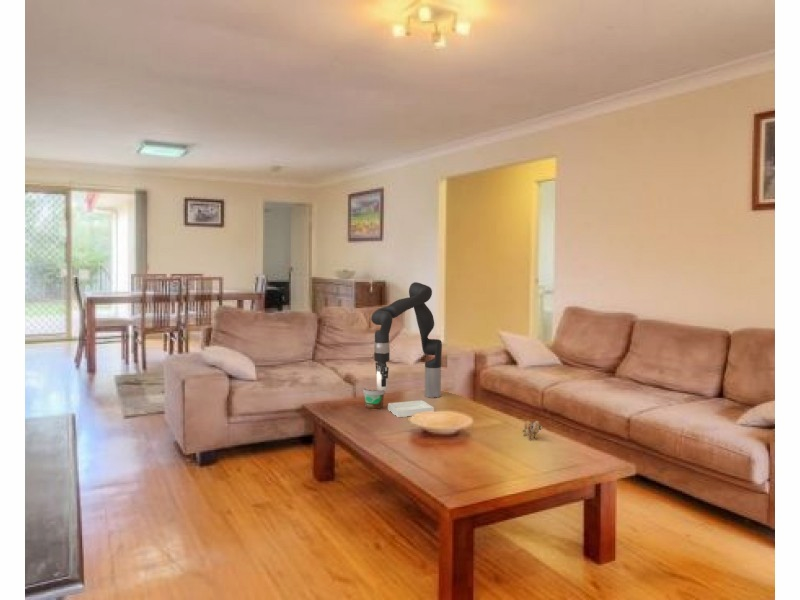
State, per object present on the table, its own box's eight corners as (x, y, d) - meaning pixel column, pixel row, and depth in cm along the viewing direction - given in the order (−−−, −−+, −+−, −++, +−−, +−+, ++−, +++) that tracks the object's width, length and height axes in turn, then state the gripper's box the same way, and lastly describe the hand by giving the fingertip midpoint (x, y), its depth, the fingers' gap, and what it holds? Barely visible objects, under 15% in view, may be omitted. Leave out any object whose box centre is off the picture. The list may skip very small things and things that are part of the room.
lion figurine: (543, 442, 243) (544, 422, 242) (532, 443, 242) (533, 422, 241) (527, 431, 257) (528, 412, 257) (517, 432, 256) (517, 413, 255)
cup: (375, 388, 277) (375, 370, 276) (385, 387, 279) (385, 369, 278) (378, 390, 272) (378, 372, 271) (388, 389, 274) (388, 371, 273)
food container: (359, 408, 295) (359, 390, 294) (364, 405, 301) (364, 387, 300) (380, 411, 290) (380, 392, 290) (385, 408, 296) (385, 389, 295)
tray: (388, 409, 293) (388, 403, 293) (422, 406, 300) (422, 400, 300) (397, 417, 279) (398, 411, 278) (433, 414, 285) (434, 407, 285)
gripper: (370, 349, 279) (370, 382, 281) (379, 354, 266) (379, 389, 267) (384, 348, 282) (384, 381, 283) (393, 353, 268) (393, 387, 270)
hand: (381, 385), depth 275 cm, fingers closed on cup, 5 cm apart
